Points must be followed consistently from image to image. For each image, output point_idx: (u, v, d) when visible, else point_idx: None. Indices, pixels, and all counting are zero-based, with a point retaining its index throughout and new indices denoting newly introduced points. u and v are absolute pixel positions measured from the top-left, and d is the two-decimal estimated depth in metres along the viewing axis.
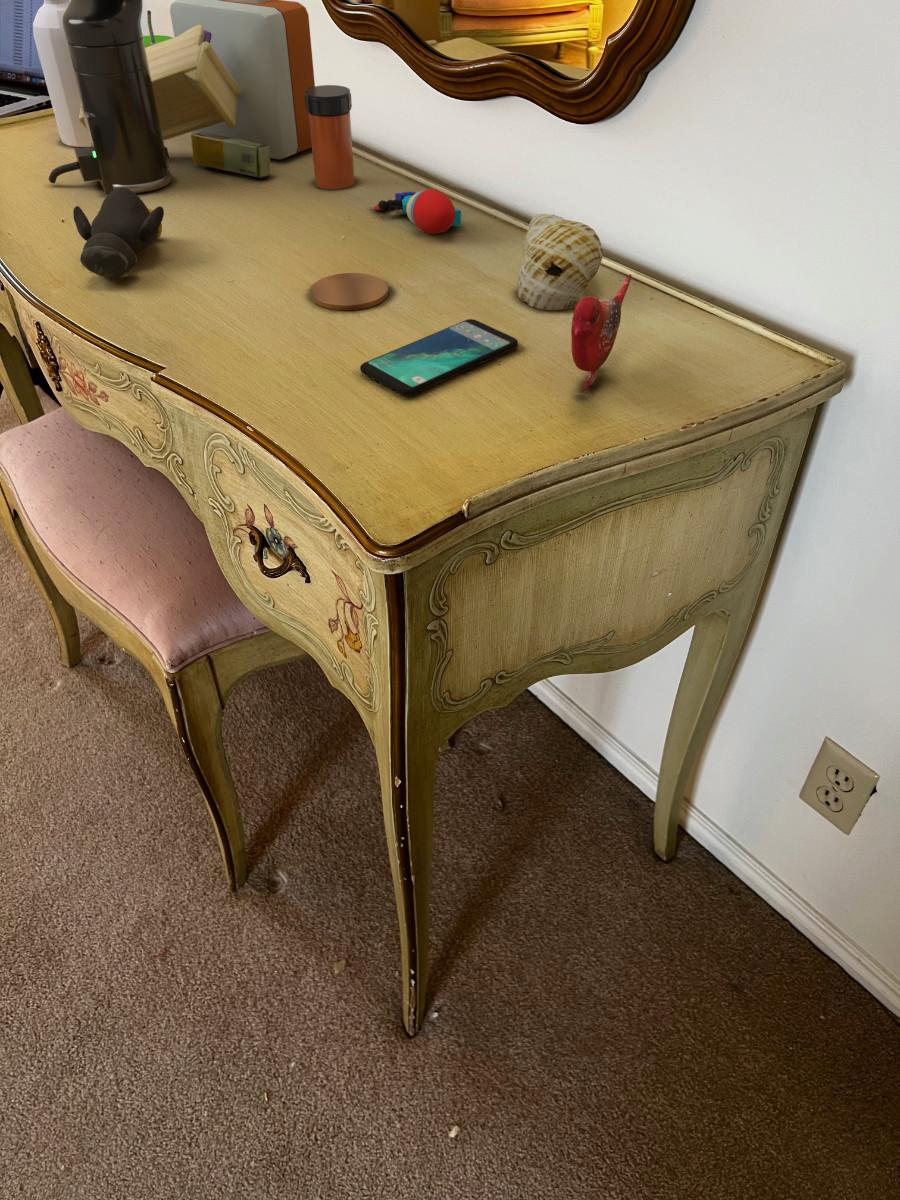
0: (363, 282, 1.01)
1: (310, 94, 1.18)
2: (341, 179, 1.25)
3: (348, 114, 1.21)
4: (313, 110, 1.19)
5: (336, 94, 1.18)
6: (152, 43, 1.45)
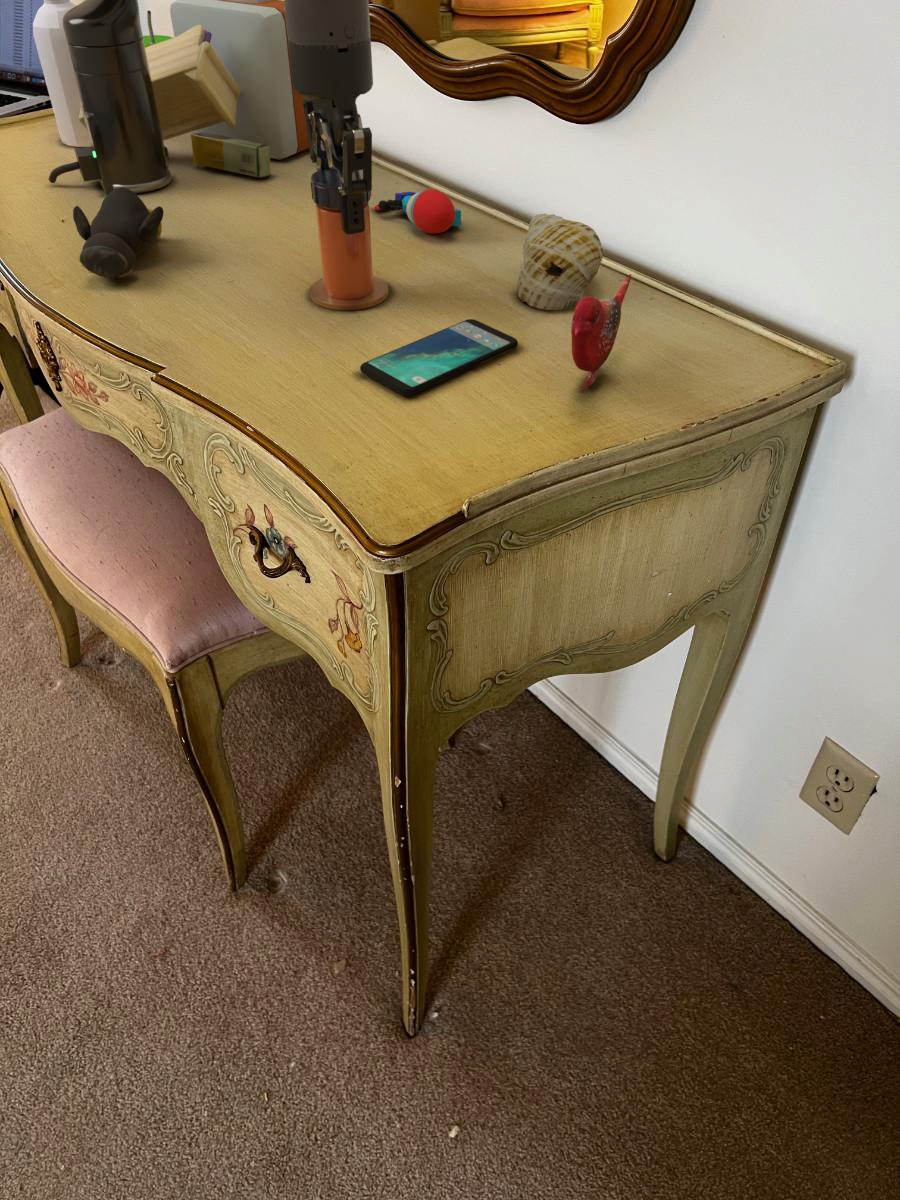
0: None
1: None
2: (358, 287, 0.97)
3: (367, 207, 0.93)
4: (363, 199, 0.92)
5: None
6: (152, 43, 1.45)
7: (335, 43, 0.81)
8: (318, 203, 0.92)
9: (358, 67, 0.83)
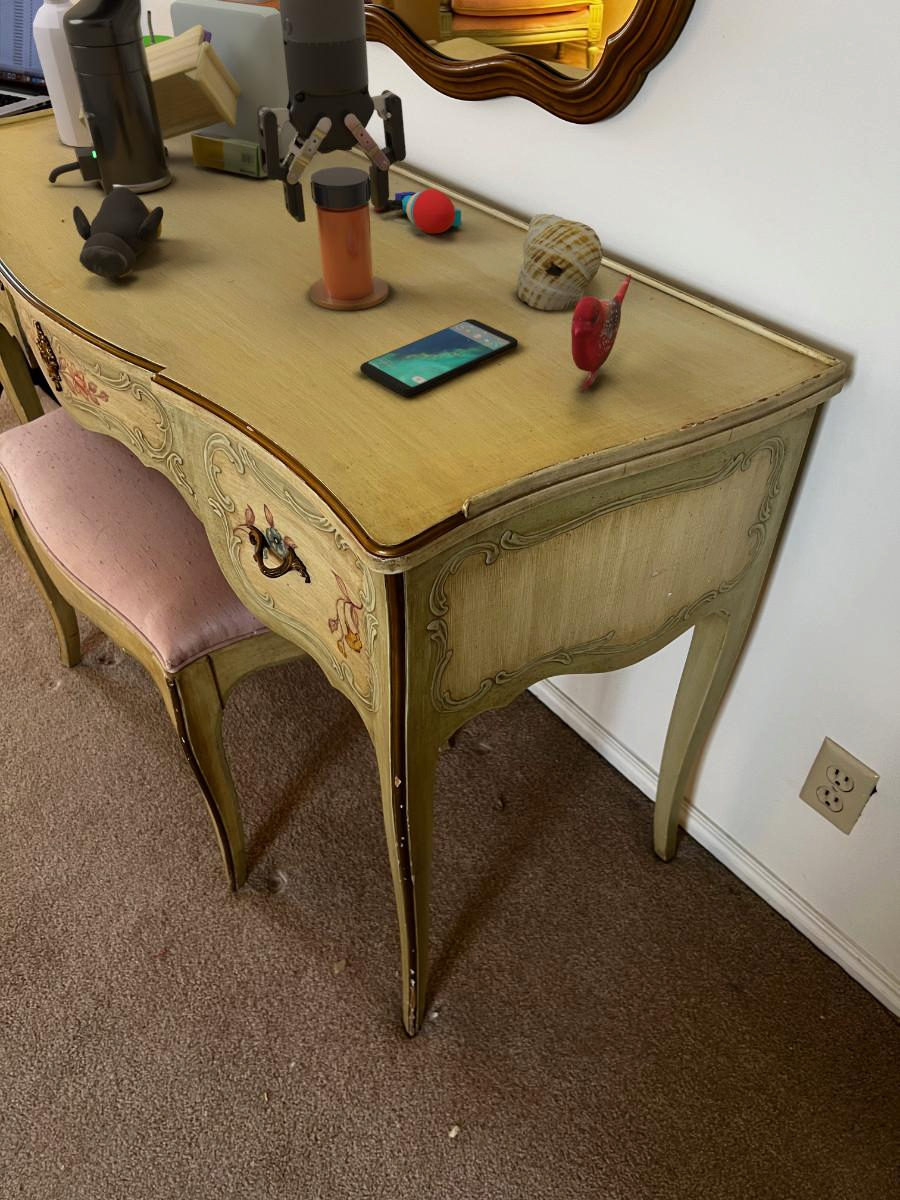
0: None
1: (355, 183, 0.91)
2: (358, 287, 0.97)
3: (367, 208, 0.93)
4: (363, 199, 0.92)
5: (358, 172, 0.93)
6: (152, 43, 1.45)
7: None
8: (317, 203, 0.92)
9: (295, 65, 0.83)
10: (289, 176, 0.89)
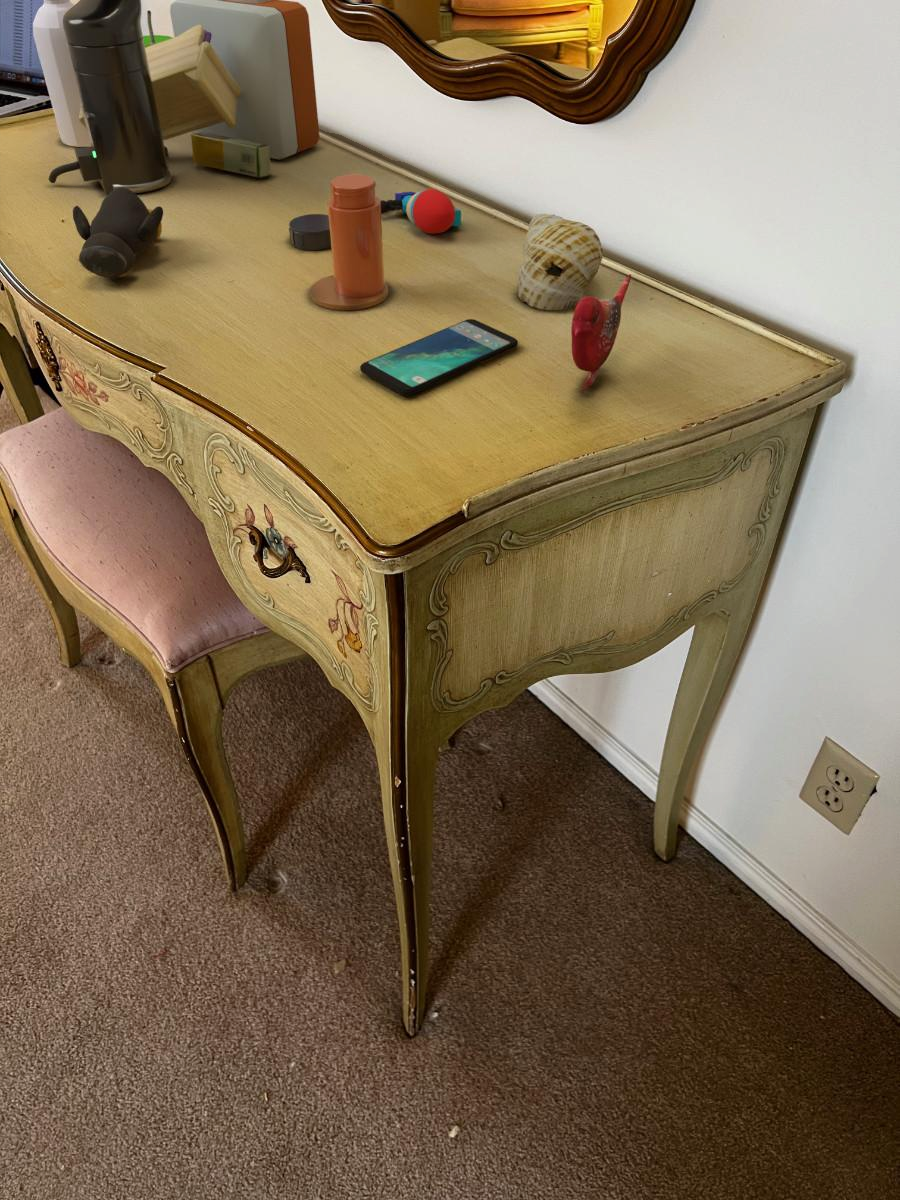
0: None
1: None
2: (378, 282, 0.98)
3: None
4: None
5: (304, 217, 1.11)
6: (152, 43, 1.45)
7: None
8: (329, 246, 1.10)
9: None
10: None
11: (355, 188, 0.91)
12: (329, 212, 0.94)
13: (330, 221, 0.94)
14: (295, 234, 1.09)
